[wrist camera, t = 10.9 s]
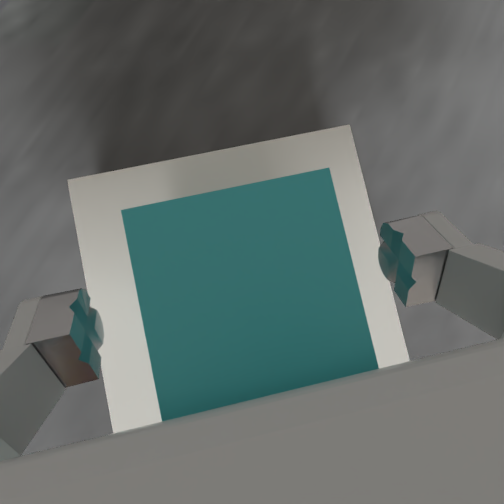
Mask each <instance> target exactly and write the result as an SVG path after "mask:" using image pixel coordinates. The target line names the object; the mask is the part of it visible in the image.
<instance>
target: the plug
mask: <svg viewBox="0 0 504 504" xmlns="http://www.w3.org/2000/svg"><path fill="white" fill-rule="evenodd" d="M121 214H122V219H123V224H124V229H125V234H126V239H127V244H128V250H129V255H130V260H131V265H132V270H133V275H134V280H135V285H136V291H137V296H138V301H139V306H140V311H141V316H142V321H143V327H144V332H145V337H146V342H147V347H148V352H149V357H150V363H151V368H152V373H153V378H154V383H155V388H156V393H157V399H158V404H159V409H160V414H161V419H162V421H166V420H170V419H174V418H178V417H182V416H187V415H191V414H195V413H199V412H203V411H207V410H211V409H215V408H219V407H223V406H228V405H232V404H236V403H240V402H244V401H248V400H252V399H256V398H260V397H264V396H269V395H273V394H277V393H281V392H285V391H289V390H293V389H297V388H301V387H305V386H310V385H314V384H318V383H322V382H326V381H330V380H334V379H338V378H342V377H346V376H350V375H355V374H359V373H363V372H367V371H371V370H375V369H379V367H378V363H377V359H376V354H375V350H374V346H373V342H372V338H371V334H370V330H369V326H368V322H367V318H366V314H365V310H364V306H363V302H362V298H361V294H360V290H359V286H358V282H357V278H356V274H355V270H354V266H353V261H352V257H351V253H350V249H349V245H348V241H347V237H346V233H345V229H344V225H343V221H342V217H341V213H340V209H339V205H338V201H337V197H336V193H335V189H334V185H333V181H332V177H331V173H330V168H324V169H319V170H314V171H309V172H304V173H300V174H295V175H290V176H285V177H280V178H275V179H270V180H265V181H260V182H256V183H251V184H246V185H241V186H236V187H231V188H226V189H221V190H216V191H212V192H207V193H202V194H197V195H192V196H187V197H182V198H177V199H172V200H168V201H163V202H158V203H153V204H148V205H143V206H138V207H133V208H128V209H124V210H121Z"/></svg>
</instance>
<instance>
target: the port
mask: <svg viewBox="0 0 504 504" xmlns="http://www.w3.org/2000/svg"><path fill="white" fill-rule="evenodd" d="M324 168H330V173H331V177H332V181H333V185H334V189H335V193H336V197H337V201H338V205H339V209H340V213H341V217H342V221H343V225H344V229H345V233H346V237H347V241H348V245H349V249H350V253H351V257H352V261H353V266H354V270H355V274H356V278H357V282H358V286H359V290H360V294H361V298H362V302H363V306H364V310H365V314H366V318H367V322H368V326H369V330H370V334H371V338H372V342H373V346H374V350H375V354H376V359H377V363H378V367H379V368H383V367H387V366H391V365H395V364H400V363H404V362H408V361H410V360H409V356H408V352H407V348H406V344H405V341H404V337H403V333H402V329H401V325H400V321H399V317H398V313H397V309H396V305H395V301H394V297H393V293H392V289H391V285H390V282H389V280H387V279H386V277H385V276H384V274H383V273H382V270H381V268H380V265H379V260H378V249H379V247H380V242H379V238H378V234H377V230H376V226H375V223H374V219H373V215H372V211H371V207H370V203H369V199H368V195H367V191H366V187H365V183H364V179H363V175H362V171H361V167H360V164H359V160H358V156H357V152H356V148H355V144H354V140H353V136H352V132H351V128H350V124H349V125H344V126H339V127H334V128H329V129H324V130H319V131H314V132H309V133H304V134H298V135H293V136H288V137H283V138H278V139H273V140H268V141H263V142H258V143H253V144H248V145H242V146H237V147H232V148H227V149H222V150H217V151H212V152H207V153H202V154H197V155H192V156H187V157H181V158H176V159H171V160H166V161H161V162H156V163H151V164H146V165H141V166H136V167H131V168H125V169H120V170H115V171H110V172H105V173H100V174H95V175H90V176H85V177H80V178H75V179H69V180H67V182H68V187H69V193H70V198H71V204H72V209H73V215H74V220H75V225H76V231H77V236H78V242H79V247H80V253H81V258H82V264H83V269H84V275H85V280H86V286H87V291H88V295H89V297H90V298H91V299H90V307H92V308H94V309H96V310H97V311H98V313H99V315H100V317H101V320H102V323H103V330H104V340H103V345H102V346H101V347H100V348H99V349H98V352H99V354H100V356H101V368H102V374H103V379H104V385H105V390H106V396H107V401H108V406H109V412H110V417H111V423H112V428H113V433H117V432H121V431H125V430H129V429H133V428H137V427H142V426H146V425H150V424H154V423H158V422H162V419H161V414H160V409H159V404H158V399H157V393H156V388H155V383H154V378H153V373H152V368H151V363H150V357H149V352H148V347H147V342H146V337H145V332H144V327H143V321H142V316H141V311H140V306H139V301H138V296H137V291H136V285H135V280H134V275H133V270H132V265H131V260H130V255H129V250H128V244H127V239H126V234H125V229H124V224H123V219H122V214H121V210H124V209H128V208H133V207H138V206H143V205H148V204H153V203H158V202H163V201H168V200H172V199H177V198H182V197H187V196H192V195H197V194H202V193H207V192H212V191H216V190H221V189H226V188H231V187H236V186H241V185H246V184H251V183H256V182H260V181H265V180H270V179H275V178H280V177H285V176H290V175H295V174H300V173H304V172H309V171H314V170H319V169H324Z"/></svg>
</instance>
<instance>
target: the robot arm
mask: <svg viewBox="0 0 504 504" xmlns="http://www.w3.org/2000/svg"><path fill="white" fill-rule="evenodd" d="M380 236H381V237H382V239H383V240H384V242H383V243H382V244H381V245H380V247H379V249H378V260H379V265H380V268H381V270H382V273H383V274H384V276H385V277H386V279H387V280H389V281H391V282H394V283H395V287H394V291H395V292H396V294H397V295H398V297H399V298H400V300H401V301H402V302H403V304H404V305H405V307H409V306H414V305H419V304H424V303H429V302H433V301H436V303H437V304H439V305H441V306H442V307H444V308H446V309H447V310H449V311H451V312H452V313H454V314H456V315H457V316H459V317H461V318H462V319H464V320H466V321H468V322H469V323H471V324H473V325H474V326H476V327H478V328H479V329H481V330H483V331H484V332H486V333H488V334H489V335H491V336H493V337H494V338H496V339H498V340H494V341H490V342H486V343H481V344H477V345H473V346H469V347H465V348H461V349H457V350H453V351H449V352H445V353H440V354H436V355H432V356H428V357H424V358H420V359H416V360H412V361H408V362H404V363H400V364H395V365H391V366H387V367H383V368H379V369H375V370H371V371H367V372H363V373H359V374H355V375H350V376H346V377H342V378H338V379H334V380H330V381H326V382H322V383H318V384H314V385H310V386H305V387H301V388H297V389H293V390H289V391H285V392H281V393H277V394H273V395H269V396H264V397H260V398H256V399H252V400H248V401H244V402H240V403H236V404H232V405H228V406H223V407H219V408H215V409H211V410H207V411H203V412H199V413H195V414H191V415H187V416H182V417H178V418H174V419H170V420H166V421H162V422H158V423H154V424H150V425H146V426H142V427H137V428H133V429H129V430H125V431H121V432H117V433H113V434H109V435H105V436H101V437H96V438H92V439H88V440H84V441H80V442H76V443H72V444H68V445H64V446H60V447H56V448H51V449H47V450H43V451H39V452H35V453H31V454H27V455H23V456H21V455H22V453H23V452H24V450H25V449H26V447H27V446H28V444H29V443H30V441H31V440H32V438H33V437H34V436H35V434H36V433H37V431H38V430H39V428H40V427H41V425H42V424H43V422H44V421H45V419H46V418H47V416H48V415H49V413H50V412H51V411H52V409H53V408H54V406H55V405H56V403H57V402H58V400H59V399H60V397H61V396H62V394H63V393H64V391H65V390H66V389H65V388H66V387H70V386H74V385H77V384H81V383H85V382H89V381H93V380H97V379H99V373H100V365H101V356H100V354H99V352H98V349H99V348H100V347H101V346H102V345H103V340H104V330H103V323H102V320H101V317H100V315H99V313H98V311H97V310H96V309H94V308H92V307H90V299H91V298H90V297H89V295H88V293H87V292H86V290H85V289H82V288H81V289H76V290H70V291H65V292H60V293H55V294H50V295H45V296H41V297H36V298H31V299H26V300H23V301H22V302H21V303H20V304H19V306H18V309H17V311H16V314H15V317H14V320H13V322H12V325H11V328H10V330H9V333H8V336H7V338H6V341H5V344H4V346H3V349H2V350H1V351H0V504H504V252H503V251H500V250H498V249H495V248H492V247H489V246H486V245H483V244H480V243H477V244H473V243H472V242H471V241H470V240H469V239H468V238H466V237H465V236H464V235H463V234H462V233H461V232H460V231H459V230H458V229H457V228H456V227H455V226H454V225H453V224H452V223H451V222H450V221H449V220H448V219H447V218H446V217H445V216H443V215H442V214H441V213H440V212H438V211H432V212H428V213H424V214H420V215H418V216H413V217H408V218H404V219H399V220H395V221H390V222H386V223H383V225H382V227H381V231H380Z"/></svg>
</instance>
